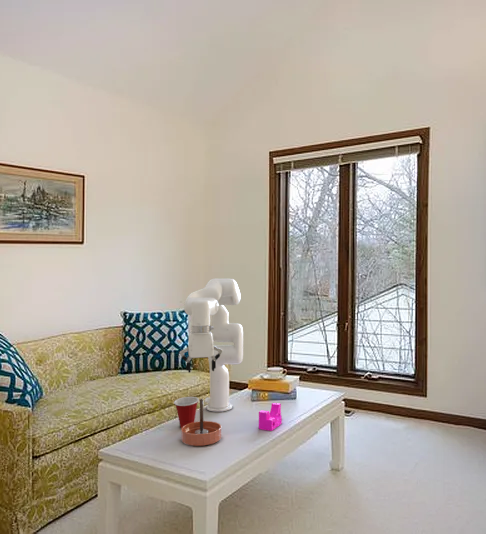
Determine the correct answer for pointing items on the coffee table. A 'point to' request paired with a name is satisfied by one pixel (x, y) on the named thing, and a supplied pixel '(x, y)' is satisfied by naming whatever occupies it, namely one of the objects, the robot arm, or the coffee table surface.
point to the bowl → (201, 439)
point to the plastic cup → (186, 409)
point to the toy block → (270, 417)
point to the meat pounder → (201, 420)
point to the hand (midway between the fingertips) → (201, 371)
